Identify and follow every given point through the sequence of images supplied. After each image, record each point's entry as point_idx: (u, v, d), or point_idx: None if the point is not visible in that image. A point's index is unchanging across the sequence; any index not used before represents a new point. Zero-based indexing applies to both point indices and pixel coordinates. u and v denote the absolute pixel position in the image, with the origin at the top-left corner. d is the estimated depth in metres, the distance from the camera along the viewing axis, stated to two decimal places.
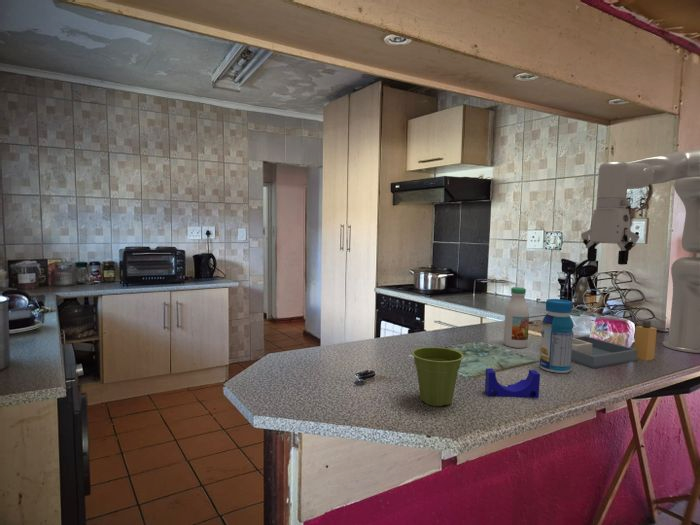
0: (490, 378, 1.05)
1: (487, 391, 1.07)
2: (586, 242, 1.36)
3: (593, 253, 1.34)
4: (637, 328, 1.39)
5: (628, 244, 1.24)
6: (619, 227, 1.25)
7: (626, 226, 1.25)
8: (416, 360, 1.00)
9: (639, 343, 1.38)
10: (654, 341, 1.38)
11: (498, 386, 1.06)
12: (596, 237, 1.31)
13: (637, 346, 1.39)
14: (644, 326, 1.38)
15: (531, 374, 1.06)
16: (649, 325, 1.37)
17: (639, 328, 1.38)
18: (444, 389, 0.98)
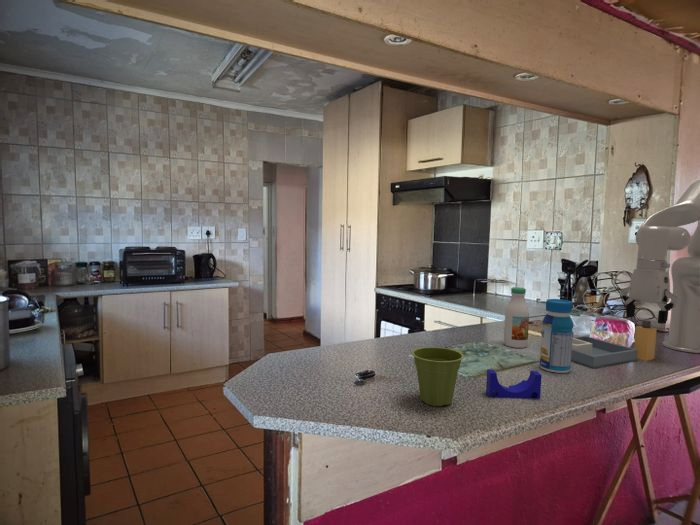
0: (491, 379, 1.05)
1: (488, 392, 1.06)
2: (625, 298, 1.43)
3: (632, 309, 1.42)
4: (637, 328, 1.39)
5: (668, 305, 1.31)
6: (660, 288, 1.32)
7: (666, 287, 1.33)
8: (416, 360, 1.00)
9: (639, 343, 1.38)
10: (654, 341, 1.38)
11: (499, 387, 1.05)
12: (636, 295, 1.38)
13: (637, 346, 1.39)
14: (644, 326, 1.38)
15: (532, 375, 1.06)
16: (649, 325, 1.37)
17: (639, 328, 1.38)
18: (444, 389, 0.98)
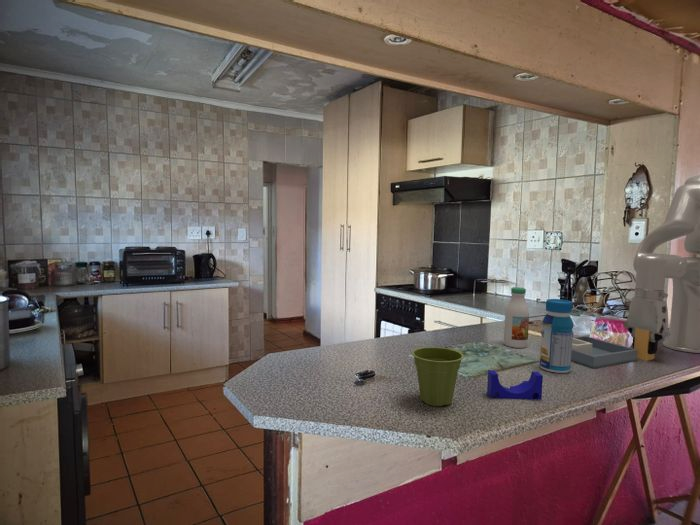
0: (493, 380, 1.04)
1: (489, 393, 1.05)
2: (631, 331, 1.42)
3: None
4: (637, 328, 1.39)
5: (657, 337, 1.34)
6: (658, 318, 1.33)
7: (664, 317, 1.34)
8: (416, 360, 1.00)
9: (639, 343, 1.38)
10: None
11: (501, 388, 1.04)
12: (634, 323, 1.39)
13: (637, 346, 1.39)
14: None
15: (533, 375, 1.05)
16: None
17: None
18: (444, 389, 0.98)
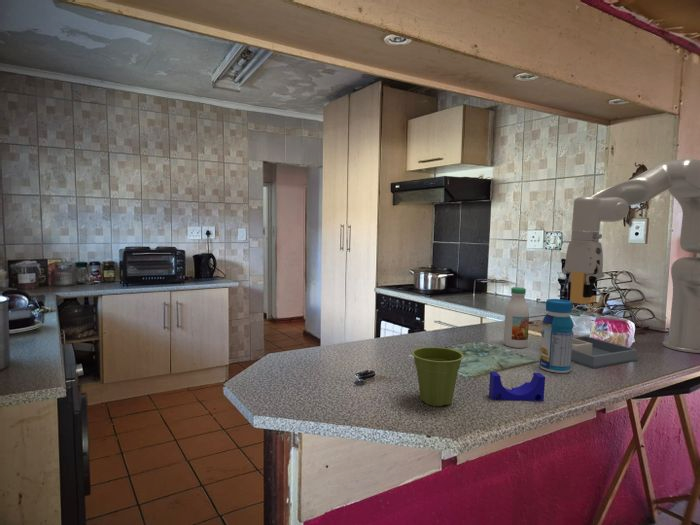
0: (495, 381, 1.03)
1: (492, 395, 1.04)
2: (569, 276, 1.40)
3: None
4: (573, 272, 1.37)
5: (592, 279, 1.32)
6: (592, 259, 1.31)
7: (598, 258, 1.32)
8: (416, 360, 1.00)
9: (575, 287, 1.36)
10: None
11: (503, 390, 1.03)
12: (571, 267, 1.37)
13: (573, 290, 1.37)
14: None
15: (535, 377, 1.05)
16: None
17: (575, 271, 1.36)
18: (444, 389, 0.98)
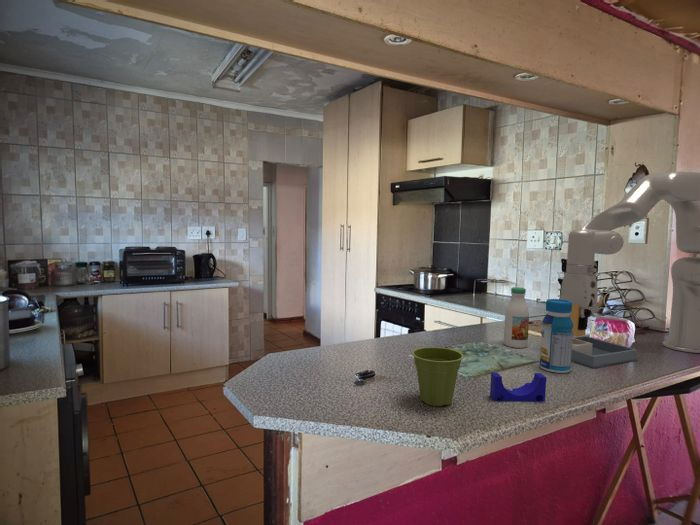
0: (496, 382, 1.03)
1: (493, 396, 1.04)
2: None
3: None
4: None
5: (587, 312, 1.33)
6: (586, 293, 1.32)
7: (593, 292, 1.33)
8: (416, 360, 1.00)
9: None
10: None
11: (504, 390, 1.03)
12: (566, 299, 1.38)
13: None
14: None
15: (537, 377, 1.04)
16: None
17: None
18: (444, 389, 0.98)
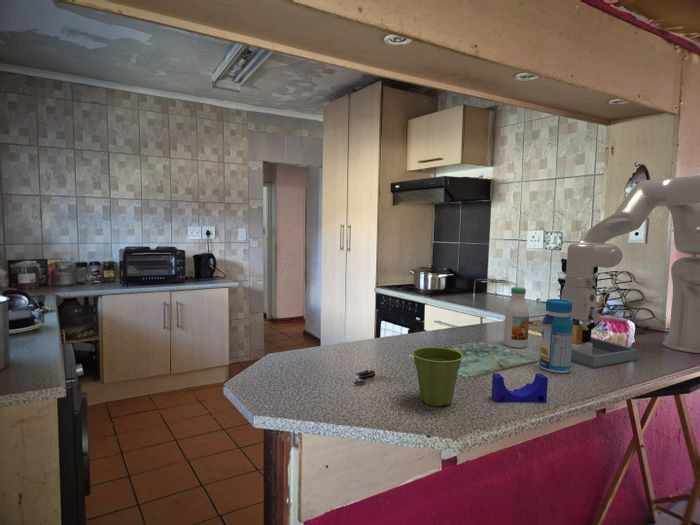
0: (498, 383, 1.02)
1: (495, 397, 1.03)
2: None
3: None
4: None
5: (590, 325, 1.32)
6: (586, 306, 1.33)
7: (592, 305, 1.33)
8: (416, 360, 1.00)
9: None
10: None
11: (506, 391, 1.02)
12: None
13: None
14: (573, 323, 1.38)
15: (538, 378, 1.04)
16: (578, 322, 1.37)
17: None
18: (444, 389, 0.98)
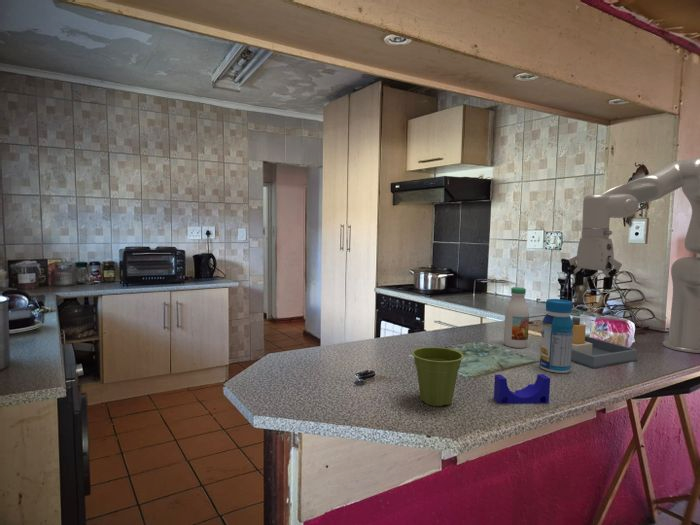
0: (501, 385, 1.01)
1: (497, 398, 1.02)
2: (574, 267, 1.46)
3: (580, 278, 1.45)
4: None
5: (612, 271, 1.34)
6: (603, 255, 1.35)
7: (609, 254, 1.35)
8: (416, 360, 1.00)
9: None
10: (583, 338, 1.37)
11: (509, 393, 1.01)
12: (582, 264, 1.41)
13: None
14: (573, 323, 1.37)
15: (540, 378, 1.03)
16: (578, 322, 1.37)
17: None
18: (444, 389, 0.98)
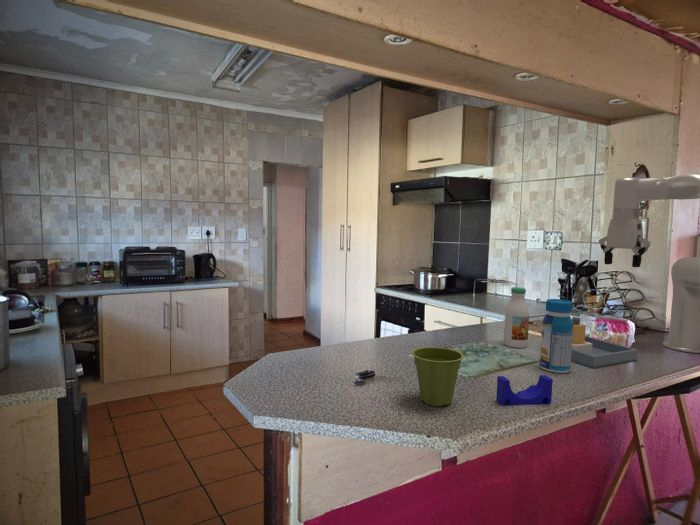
0: (504, 387, 1.00)
1: (500, 400, 1.01)
2: (603, 247, 1.54)
3: (609, 257, 1.53)
4: None
5: (641, 249, 1.42)
6: (633, 234, 1.43)
7: (639, 234, 1.44)
8: (416, 360, 1.00)
9: None
10: (583, 338, 1.37)
11: (512, 394, 1.01)
12: (612, 243, 1.50)
13: None
14: (573, 323, 1.37)
15: (542, 379, 1.03)
16: (578, 322, 1.37)
17: None
18: (444, 389, 0.98)
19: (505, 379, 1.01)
